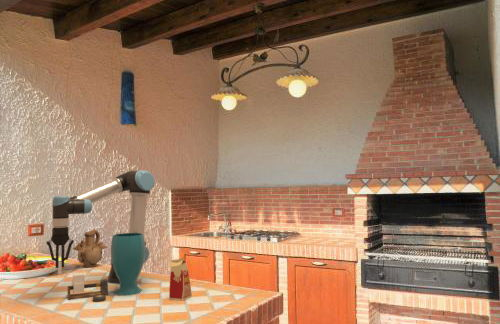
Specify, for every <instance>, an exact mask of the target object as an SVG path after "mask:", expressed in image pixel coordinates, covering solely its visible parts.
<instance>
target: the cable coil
mask: <svg viewBox="0 0 500 324" xmlns="http://www.w3.org/2000/svg"><path fill="white" fill-rule="evenodd" d="M106 300H107V295H95V296H93V297H92V302H95V303H101V302H106Z"/></svg>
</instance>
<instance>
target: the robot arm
mask: <svg viewBox="0 0 500 324" xmlns="http://www.w3.org/2000/svg"><path fill="white" fill-rule="evenodd" d="M155 183H156V181H155V177H154V175H153V174H152V173H151V172H150V171H148V170H144V169H140V170H129V171H126V172H124V173H122V174H119V175H117V176H114V177H113V178H112V179H111V180H110V181H107V182H105V183H102V184H100V185H97V186H95V187H92V188H90V189H87V190H85V191H83V192H80V193H79V194H76V195H73V196H70V197H69V196H67V195H55V196H54V197H52V204H51V205H52V206H51V207H52V221H51V225H52V228H51V237H50V239H49V240H46V242H45V243H46V245H47V246H48V249H49V253H50V257H51V260H52V261H53V262H55V268H56V269H57V275H58V276H61V275H62V268H64V267H65V261H68V260H69V256H70V253H71V249H72V245H73V244H74V243H75V240H74V239H71V238H70V236H69V224H70V223H69V222H70V221H69V220H70V217H69V216H70V215H81V214H82V215H85V214H90V213H91V212H92V210H93V204H94V203H95V202H98V201H100V200H102V199H106V198H107V197H110V196H112V195H115V194H117V193H118V194H121V193H123V192H126V191H129V195H130V196H131V201H130V211H129V225H128V226H129V228H128V233H141V234H143V235H144V236H145V226H146V223H145V222H146V214H147V202H148V201H147V199H148V196H149V195H151V194H150V193H151V190H152V189H153V188H154V186H155ZM52 243H53V244H54V246H55V254H54V251H53V248H52V247H53V246H52ZM67 243H68V246H67V250H66V253H65V245H66V244H67ZM146 245H147V241H146V240H145V259H144V263H143V265H144V264H145V263H146V262H147V261H148V259H149V257H150V251H149V248H148V247H147V246H146ZM60 247H61V249H60ZM60 250H61V257H60V256H59V255H60V254H59V253H60V252H59V251H60ZM59 257H60V258H61V259H60V260H59ZM110 260H111V261H110V265H111V267H110V270H109V274H108V276H107V277H108V278H107V280H108V283H111V284H120V281H119V279H118V277H117V275H116V273H115V270H114V268H113V264H112V259H111V258H110Z"/></svg>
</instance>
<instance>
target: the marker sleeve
mask: <svg viewBox="0 0 500 324" xmlns="http://www.w3.org/2000/svg"><path fill="white" fill-rule="evenodd" d="M84 284H85V274H84V273H76V274H72V286H73V290H72V292H73V293H72V294H78V293H85V288H84Z"/></svg>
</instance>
